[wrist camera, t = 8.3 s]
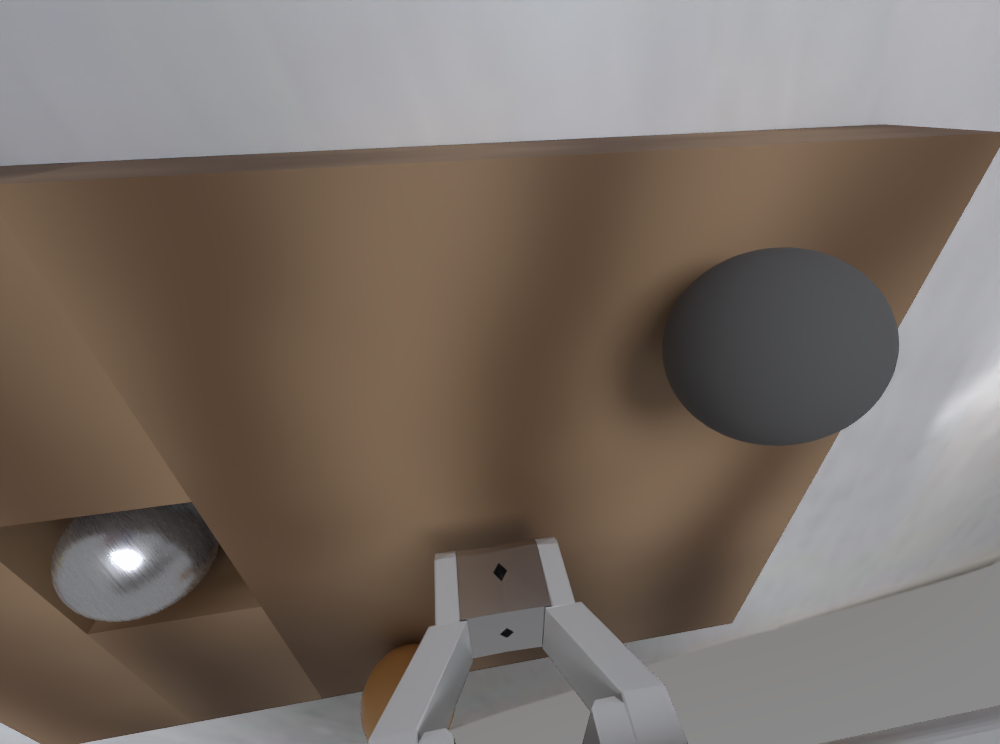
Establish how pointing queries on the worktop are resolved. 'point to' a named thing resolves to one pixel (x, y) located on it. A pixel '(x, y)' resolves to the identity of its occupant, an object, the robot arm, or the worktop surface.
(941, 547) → the worktop surface
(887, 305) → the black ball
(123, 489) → the board
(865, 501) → the worktop surface
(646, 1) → the worktop surface
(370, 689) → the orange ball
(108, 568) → the steel ball
